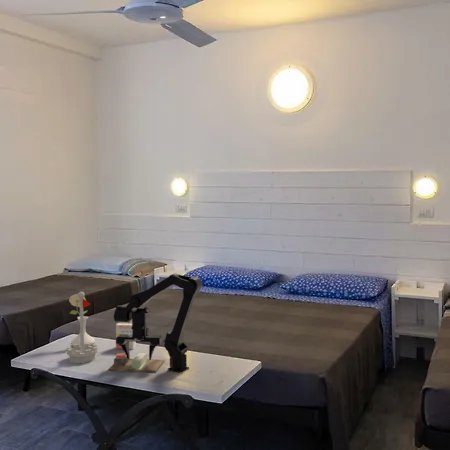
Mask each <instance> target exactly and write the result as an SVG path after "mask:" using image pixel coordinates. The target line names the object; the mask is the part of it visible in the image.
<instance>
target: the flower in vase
mask: <svg viewBox="0 0 450 450" xmlns="http://www.w3.org/2000/svg"><path fill="white" fill-rule="evenodd" d="M83 299H84V300H86V301H87V299H86V297H85V296H84V297H83ZM68 301H69V303H70V305H71V306H73V307H76V308H80V298H79V297H78V293H75V294H73V295H70V297H69V299H68ZM88 310H89V309H88ZM88 310H85V311H84V310H83V319H84V343H90V346H92V345H93V344H95V343H96V340H95V339H94V338H93V337H92V336H91V335H89V333H87V332H86V331H87V330H86V323H87V320H88V319H89V316H84V315H85V314H86V313H88ZM69 314H71V315H77V314H78V315H79V316H77V320H78V321H79V323H80V311H79V310H78V309H76V310H75V309H73V310H71V311H70V312H69ZM75 344H79V346H80V332H79V333H78V335H76V336H75V337H74V338H72V341H70V345H71V347H73V345H75Z"/></svg>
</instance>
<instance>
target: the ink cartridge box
mask: <svg viewBox="0 0 450 450" xmlns="http://www.w3.org/2000/svg"><path fill="white" fill-rule="evenodd" d="M131 327H132V320H130V322H118V323H116V324H115V339H116V338H117V337H118V336H119V335H120V334H128V335H129V337H132V329H131ZM136 347H137V342H135V341H129V350H134V349H135V348H136ZM115 349H117V350H123V348H122V347H121V346H119V344H116V343H115Z"/></svg>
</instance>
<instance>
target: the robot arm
mask: <svg viewBox="0 0 450 450" xmlns="http://www.w3.org/2000/svg"><path fill="white" fill-rule="evenodd" d="M173 285H174V286H176V287H178V288H180V289H182V290H183V291H182V296H183V297H182V301H181V305H180V307H179V310H178V313H177V316H176V319H175V323H174V325H173V329H171V330H169V331H168V332H166V333H165V338H164V340H163V335H161V334H160V335H159V334H153V335H151V336H150V328H149V327H147V319H146V317H147V314H149V313H150V312H152V311H151V310H150V308H149V307H147V306H146V304H148V303H149V302H150V301H152V298H154V297H156V295H158V294H160V293H161V292H164V291H165V290H166V289H169V288H170V287H172V286H173ZM202 287H203V282H202V279H201V278H200V277H198V276H190V275H189V276H188V275H182V274H179V273H172V274H170V275H168V277H166V278H164V279H163V280H160V281H159V282H158V283H156V284H154V285H152V286H151V287H149V288H148V289H144V290H141V291H140V292H136V293H135V294H132V295H131V296H130V297H129V302H128V304H127V305H119V304H118V305H116V306H115V310H114V314H113V321H114V322H115V323H116V322H118V323H119V322H130V320H132V327H131V329H132V337H129V335H128V334H120V335H119V336H118V337H117V338H116V337H115V345H116V344H119V346H121V347H122V348H123V349H122V350H123V351H124V353H125V354H126V356H127V358H128V360H129V359H131V355H130V353H131V352H130V349H129V341H135V342H136V343H138V342H139V343H142V342H143V343H146V342H147V343H150V344H149V346H148V347H149V348H148V351H149V352H148V359H149V360H151V359H152V358H153V354H154V351H155V349H156V348H157V347H158V346H159V345H160V344H162V343H164V344H163V345H164V348H165V350H166V351H167V353H168V356H169V367H167V370H168V371H173V372H176V373H180V372H183V371H186V370H188V369H190V367H189V366H187V354H186V353H187V352H188V349H189V347H188V346H187V344H186V343H185V342H184V336H185V334H184V333H185V331H184V330H185V327H186V324H187V321H188V318H189V315H190V312H191V309H192V306H193V303H194V300H195V299H196V297H197V295H198V294H199V292H200V291H201V289H202ZM143 306H144V307H143ZM141 307H142V308H141Z"/></svg>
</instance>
